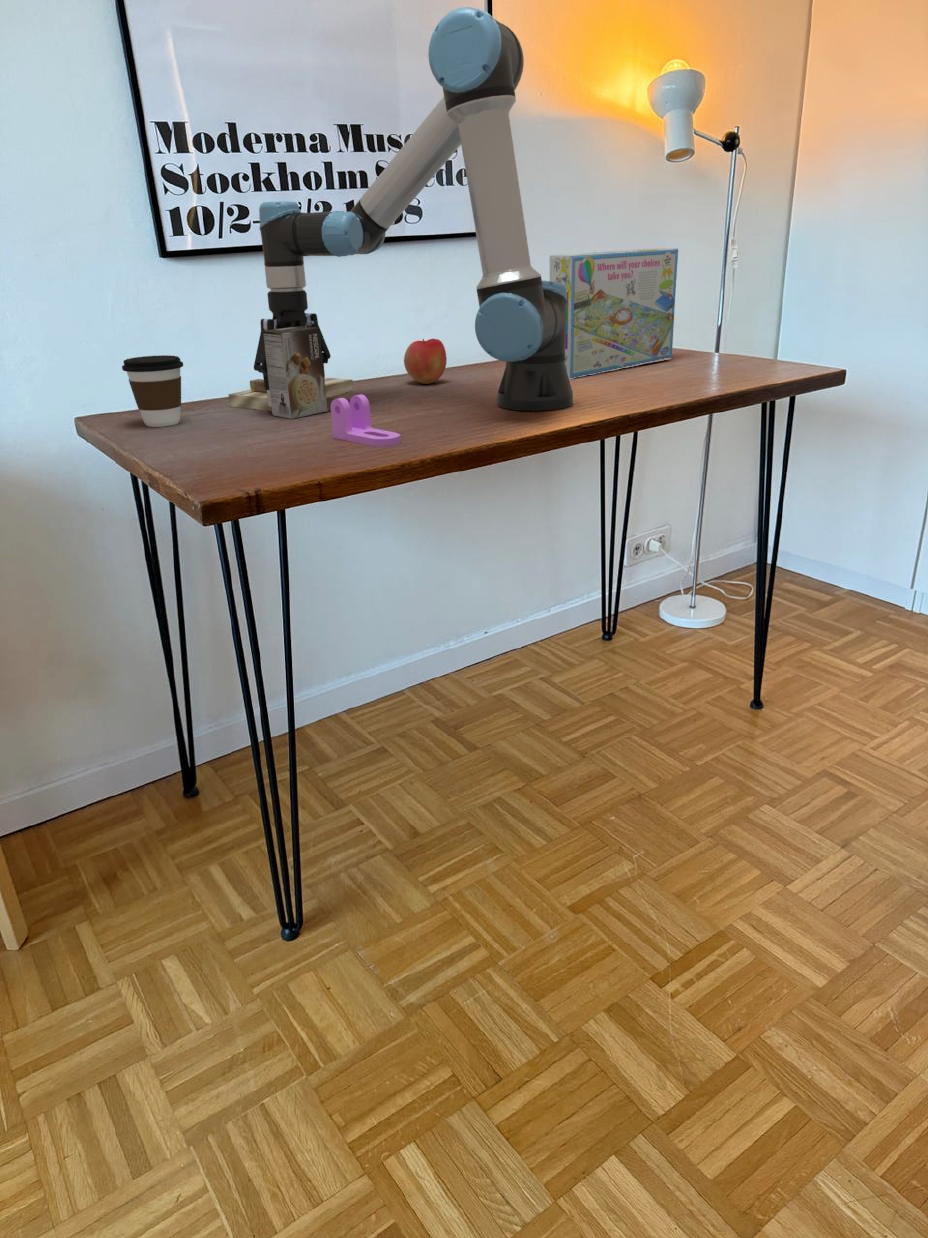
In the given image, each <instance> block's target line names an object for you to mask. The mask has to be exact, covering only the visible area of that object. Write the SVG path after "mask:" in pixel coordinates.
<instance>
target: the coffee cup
mask: <svg viewBox="0 0 928 1238" xmlns="http://www.w3.org/2000/svg"><path fill="white" fill-rule="evenodd" d="M182 367H184V362H183V361H181V358H180V357H179V356H178V355H167V354H166V355H147V356H145V355H144V356H138V357H131V358H130V357H129V358H127V359H124V360H123V365H121V368H122V369H121V370H122V371H123V372H126V374H127V376H128V377H127V378H128V383H129V386H130V389H131V391H132V395H133V397H134V400H135V403H136V406H137V408H138V410H139V412H140V415H141V418H142V421H143V422H144V424H145V426H146V427H150V428H152V427H153V428H160V427H161V428H162V427H163V428H164V427H169V426H170V427H171V426H175V425H178V424H180V420H181V406H182V376H181V368H182Z"/></svg>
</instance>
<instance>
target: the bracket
mask: <svg viewBox="0 0 928 1238" xmlns="http://www.w3.org/2000/svg"><path fill="white" fill-rule="evenodd" d="M330 416H331V428H332V438H333V439H337V440H338V439H339V440H341V441H347V442H351V443H357V444H361V445H365V446H370V447H378V448H384V447H387V448H388V447H394V446H398V445H399V444H401V434H400V433H398V432H394V431H389V430H384V429H378V428H374V427H372V422H371V419H372V418H371V408H370V401H369V399H368V398H367V396H366V395H364V394H355V395H353V396H351V398H350V400H349V401H348V400H347V398H344V397H339V398H335V399H332V400H331V403H330Z"/></svg>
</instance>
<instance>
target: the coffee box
mask: <svg viewBox="0 0 928 1238" xmlns="http://www.w3.org/2000/svg"><path fill="white" fill-rule="evenodd" d="M319 329H320V330H321V327H319V328H317V327H306V326H296V327H288V328H280V329H273V330H265V331H262V332H263V339H264V348H265V356H266V364H267V372H268V380H269V388H270V397H271V405H272V411H271V413H272V416H275V417H280V418H285V419H290V420H294V419H298V418H303V417H306V416H311V415H316V414H321V413H325V412H328V405H327V398H326V391H325V381H324V372H325V369H324V370H323V360H322V352H323V351H322V350H321V340H320V330H319Z"/></svg>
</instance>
